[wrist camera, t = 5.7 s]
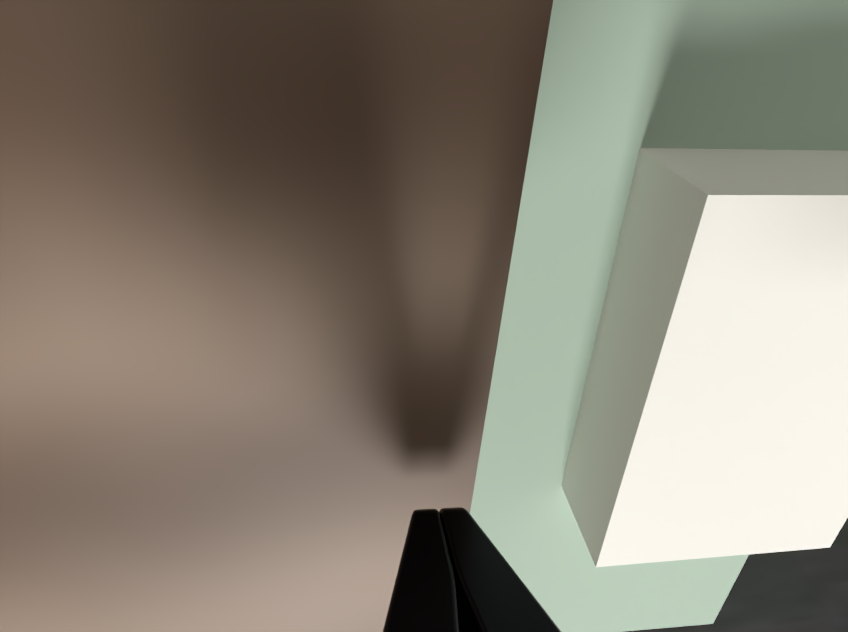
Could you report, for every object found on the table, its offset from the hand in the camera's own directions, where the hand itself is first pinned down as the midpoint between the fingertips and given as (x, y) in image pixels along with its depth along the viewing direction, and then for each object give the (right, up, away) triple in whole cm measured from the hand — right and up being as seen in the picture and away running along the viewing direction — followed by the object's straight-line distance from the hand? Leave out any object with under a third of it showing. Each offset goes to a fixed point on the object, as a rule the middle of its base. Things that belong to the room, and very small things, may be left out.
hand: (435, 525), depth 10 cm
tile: (+7, +1, +3) cm, 8 cm away
